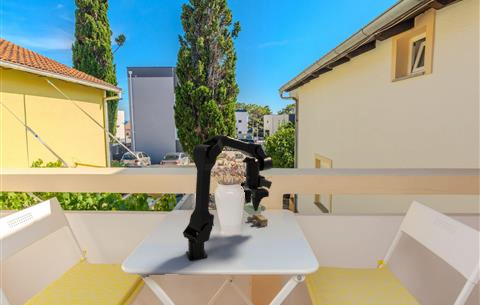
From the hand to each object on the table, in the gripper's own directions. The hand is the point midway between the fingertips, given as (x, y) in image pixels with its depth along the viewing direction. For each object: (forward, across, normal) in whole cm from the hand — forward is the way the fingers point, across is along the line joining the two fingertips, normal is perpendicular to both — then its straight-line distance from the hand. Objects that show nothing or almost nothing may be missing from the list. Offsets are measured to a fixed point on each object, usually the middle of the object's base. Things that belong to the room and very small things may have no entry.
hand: (252, 208), depth 122 cm
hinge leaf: (+2, 0, -2) cm, 2 cm away
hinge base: (+11, +9, -7) cm, 15 cm away
